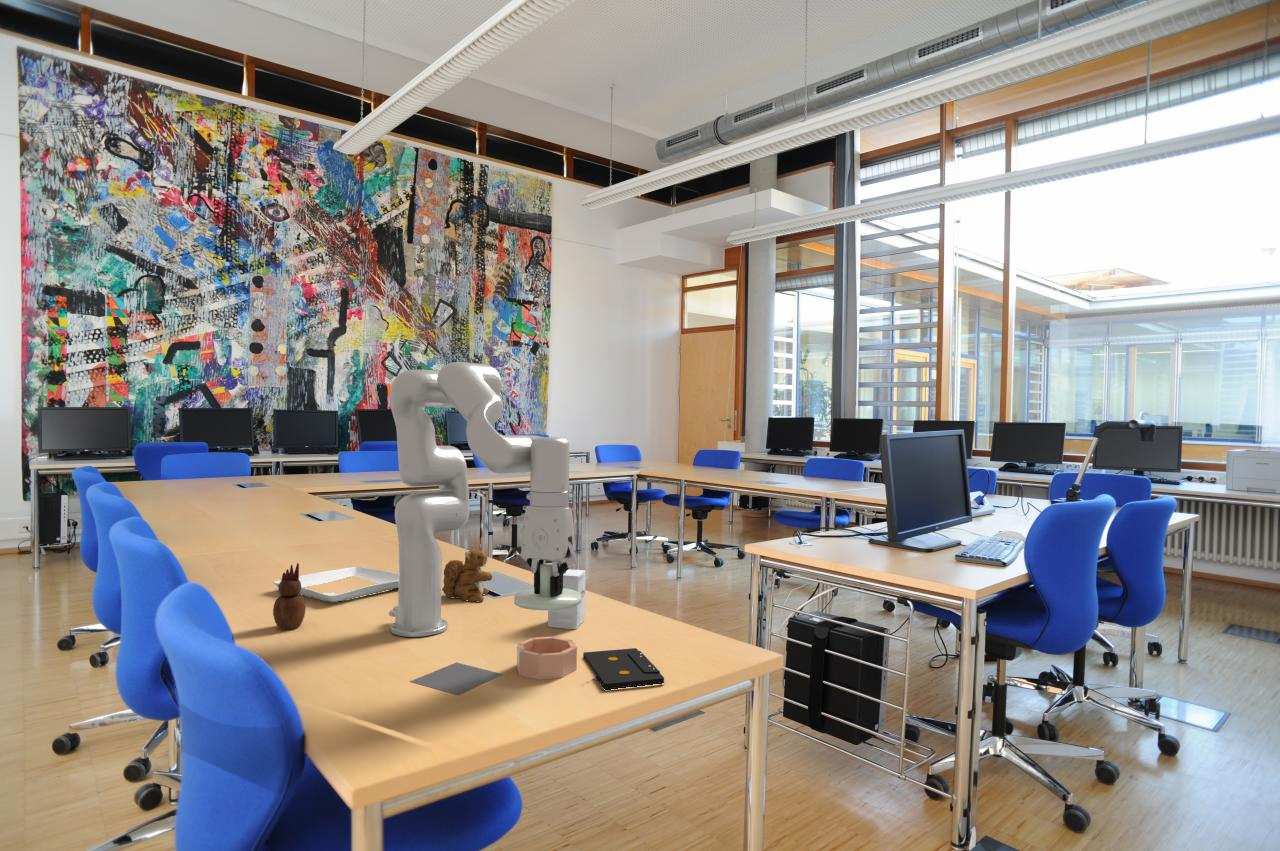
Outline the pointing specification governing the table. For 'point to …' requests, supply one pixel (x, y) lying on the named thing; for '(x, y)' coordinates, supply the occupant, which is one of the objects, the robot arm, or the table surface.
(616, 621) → the table surface
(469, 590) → the stuffed squirrel
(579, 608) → the supplement box
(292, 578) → the wooden figurine
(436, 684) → the mat
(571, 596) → the lid
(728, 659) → the table surface
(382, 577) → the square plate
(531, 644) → the bowl
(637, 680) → the cassette tape
